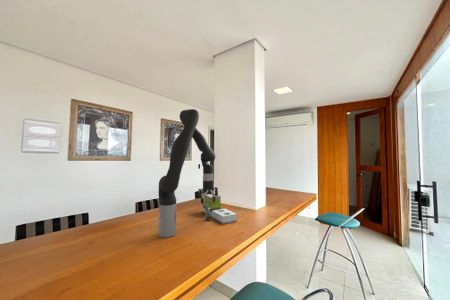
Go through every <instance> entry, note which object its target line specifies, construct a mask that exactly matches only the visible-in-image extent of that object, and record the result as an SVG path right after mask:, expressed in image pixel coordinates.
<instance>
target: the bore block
mask: <svg viewBox="0 0 450 300" xmlns="http://www.w3.org/2000/svg"><path fill="white" fill-rule="evenodd" d="M211 218H212V219H214V220H215V221H216V222H219V223H221V224H222V225H226V224H231V223H235V222H238V215H237V213H235V212H233V211H231V210H229V209H227V208H221V209H219V210H213V211H212V216H211Z"/></svg>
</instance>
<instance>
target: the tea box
mask: <svg viewBox="0 0 450 300" xmlns="http://www.w3.org/2000/svg"><path fill="white" fill-rule="evenodd" d="M214 194H215V192H214ZM212 197H213V196H212V194H208V195H205V196H204V198H203V199H204V204H202V211H203V213H205V214H206V207H210V217H212V211H213V210H219V209H222V207H221V206H222V205H221V204H222V203H221V201H222V200H221V195H219V194H218V196H216V197H215V202H213V198H212Z"/></svg>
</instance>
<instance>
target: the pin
mask: <svg viewBox="0 0 450 300" xmlns="http://www.w3.org/2000/svg"><path fill="white" fill-rule="evenodd" d="M210 217H211V216H210V207H206V213H205V217H204V219H205V221H206V222H210V221H211V219H210Z"/></svg>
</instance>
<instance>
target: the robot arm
mask: <svg viewBox="0 0 450 300" xmlns="http://www.w3.org/2000/svg"><path fill="white" fill-rule="evenodd" d="M199 119H200V113H199V111H198V110H197V109H195V108H192V109H184V110H181V111H180V113H179V120H180V122H181V124H182V125H183V126H184V127H183V129H182V131H181V132H180V133H179V134H178V136H177V137H176V138H175V139H174V141H173V144H172V147H171V150H170V156H169V166H168V170H167V173H166V174H165V175H162V177H160V179H159V182H158V200H159V213H158V214H159V215H158V219H157V220H158V222H157V224H158V227H157V234H158V236H159V239H160V238H170V237H174V236H176V234H177V198H176V195H175V192H176V190H177V189H178V187H179V182H180V178H181V173H182V169H183V166H184V164H185V160H186V157H187V155H188V151H189V147H190V143H191V141H192V139H193V141H194V143H195V145H196V146H197V149H198V150H199V151H200V152H201V153H200V162H201V165H202V188H198V190H197V191H198V193H197V197H198V198H199V199H200V203H201V205H203V204H204V199H203V198H204V196H205V195H208V194H212V196H213V197H212V198H213V202H215V197H216V196H218V195H219V191H218V187H217V186H215V187H214V166H213V165H212V164H209V162H213V161H215V160H216V153H215V152H214V150H213V148H211V147H210V145H208V142H207V139H206V138H205V136H204V135H203V134H202V133H201V132H200V131H199V130H198V128H197V125H198V123H199ZM214 193H215V194H214Z"/></svg>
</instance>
